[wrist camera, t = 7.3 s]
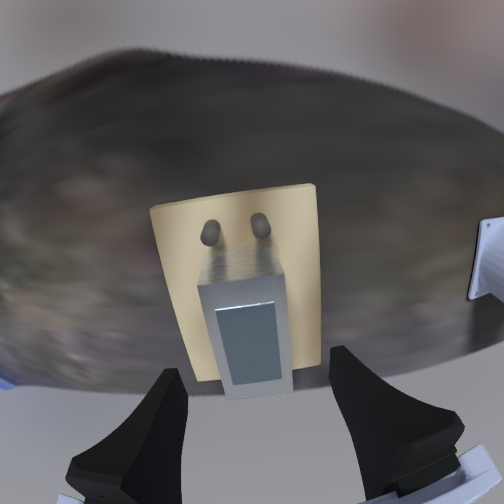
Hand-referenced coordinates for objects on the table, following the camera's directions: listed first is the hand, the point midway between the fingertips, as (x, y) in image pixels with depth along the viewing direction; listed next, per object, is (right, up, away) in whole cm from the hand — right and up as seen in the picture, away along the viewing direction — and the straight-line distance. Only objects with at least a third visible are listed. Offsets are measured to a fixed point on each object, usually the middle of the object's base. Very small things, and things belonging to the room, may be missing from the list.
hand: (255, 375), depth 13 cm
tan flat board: (-1, +3, +8) cm, 8 cm away
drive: (-1, +3, +7) cm, 7 cm away
